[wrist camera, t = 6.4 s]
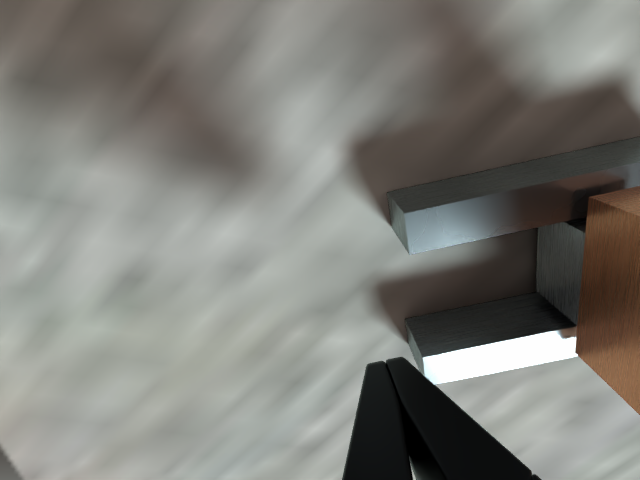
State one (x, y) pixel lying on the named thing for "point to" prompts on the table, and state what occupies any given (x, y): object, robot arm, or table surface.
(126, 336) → the table surface
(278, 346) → the table surface
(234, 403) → the table surface
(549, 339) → the ram guide
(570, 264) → the brown boxy piece
